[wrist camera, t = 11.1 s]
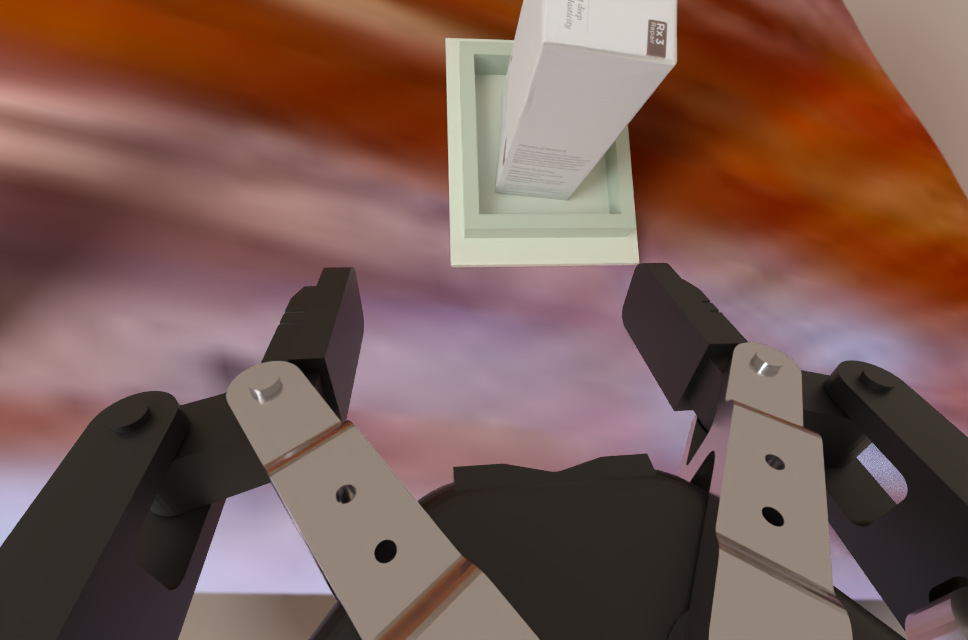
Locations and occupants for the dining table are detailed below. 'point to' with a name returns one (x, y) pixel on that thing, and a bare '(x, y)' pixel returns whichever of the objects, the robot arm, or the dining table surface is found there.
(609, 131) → the skincare box
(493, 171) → the tray
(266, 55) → the dining table surface
